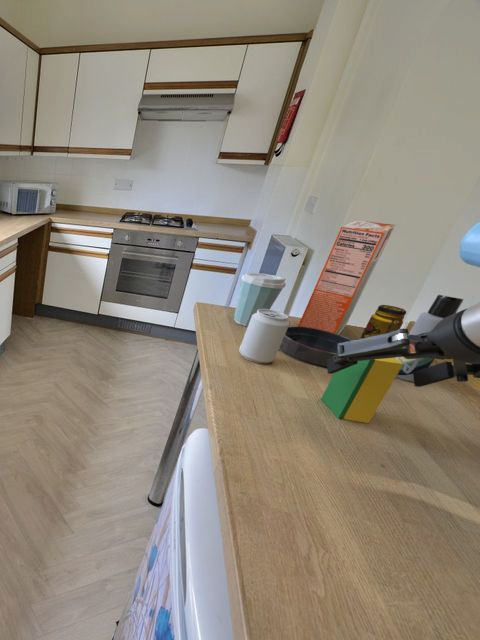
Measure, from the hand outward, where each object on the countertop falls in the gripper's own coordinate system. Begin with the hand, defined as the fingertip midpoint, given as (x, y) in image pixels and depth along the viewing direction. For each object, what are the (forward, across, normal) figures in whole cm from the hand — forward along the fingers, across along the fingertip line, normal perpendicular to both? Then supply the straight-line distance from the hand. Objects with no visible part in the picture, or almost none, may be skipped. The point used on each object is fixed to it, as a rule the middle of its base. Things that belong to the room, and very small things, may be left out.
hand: (371, 372), depth 76 cm
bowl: (+28, +7, +15) cm, 33 cm away
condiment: (+35, +24, +21) cm, 47 cm away
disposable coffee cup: (+40, -4, +26) cm, 48 cm away
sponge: (+8, 0, -6) cm, 10 cm away
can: (+23, -9, +9) cm, 26 cm away
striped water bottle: (+24, +22, +10) cm, 34 cm away
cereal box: (+42, +16, +28) cm, 53 cm away
